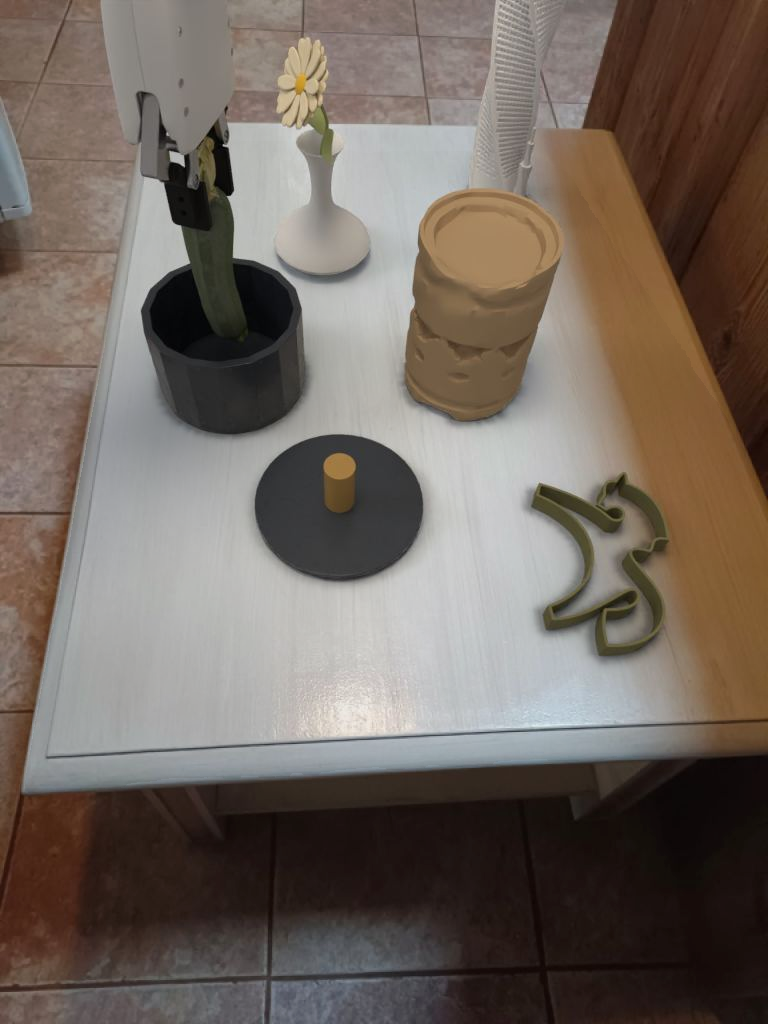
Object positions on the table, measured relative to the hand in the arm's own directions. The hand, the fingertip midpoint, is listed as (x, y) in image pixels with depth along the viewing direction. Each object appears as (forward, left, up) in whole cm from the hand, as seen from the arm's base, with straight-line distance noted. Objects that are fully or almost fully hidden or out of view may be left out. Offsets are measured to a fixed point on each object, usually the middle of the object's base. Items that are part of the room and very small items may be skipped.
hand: (204, 206), depth 58 cm
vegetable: (0, 0, -15) cm, 15 cm away
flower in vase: (+20, +8, -21) cm, 30 cm away
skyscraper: (+43, +1, -21) cm, 48 cm away
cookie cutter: (+10, -40, -20) cm, 46 cm away
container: (+18, -16, -20) cm, 32 cm away
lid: (-3, -19, -20) cm, 28 cm away
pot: (0, 0, -20) cm, 20 cm away
